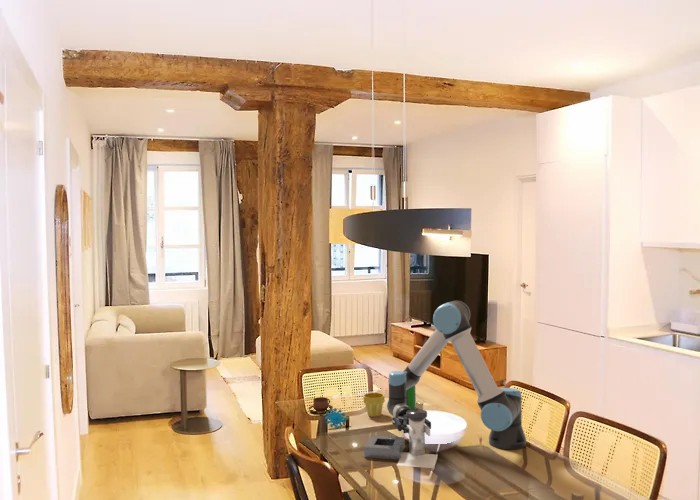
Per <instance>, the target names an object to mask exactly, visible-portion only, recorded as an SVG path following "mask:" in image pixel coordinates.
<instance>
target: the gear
mask: <svg viewBox="0 0 700 500" xmlns="http://www.w3.org/2000/svg"><path fill="white" fill-rule="evenodd" d="M337 410H338V411H337ZM325 415H326V416H325V418H324V419H325V420H326V424H328V425H329V424H330V425H329V427H330V428H333V426H334V425H335V426H334V429H338V428H343V425H345V424H346V422H347V420H349V416H348V415H347V416H346V413H345V412H342V409H337V408H336V407H333V409H330V410H329V412H326V413H325Z"/></svg>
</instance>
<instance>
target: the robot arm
mask: <svg viewBox="0 0 700 500" xmlns="http://www.w3.org/2000/svg"><path fill="white" fill-rule="evenodd" d="M470 320H471V310H470V308H469V306H468V305H467V304H466V303H465V302H463V301H462V300H452V301H449V302H445V303H443V304H441V305H439V306H438V307H437V308H436V309H435V310H434V313H433V317H432V323H433V325H434V328H435V329H434V331H433V332H432V334H431V335H429V338H428V339H427V340H426V341H425V343H424V344H423V345H422V347H421V348H420V349H419V351H418V352H417V353H416V354H415V355H414V357H413V358H412V360H411V361H410V362H409V364H408V365H407V366H406V367H405V368H404V370H403V371H401V370H393V371H391V372H389V374H388V400H387V402H386V409H387V410H388V413H389V414H390V415H391V416H392V423H391V424H392V425H393V426H395V428H396V429H397V431H398V432H403V434H408V436H409V435H410V436H411V437H413V429H412V428H411V427H410V426H409V418H408V417H407V416H406V411H408V410H411V409H410V408H409V407H408V406H407V405H406V390H408V389H409V388H411V387H412V386H415V387H416V385H417V384H418V383H419V381H420V380H421V377H422V376H423V375H424V374H425V372H426V370H428V368H429V367H430V366H431V364H432V363H433V362H434V361H435V360H436V358H437V357H438V355H440V353H441V352H442V350H443V349H444V348H445V347H446V346H447V345H448V343H449V342H450V343H451V345H452V346H453V348H454V351H455V352H456V353H455V354H456V355H457V357H458V359H459V361H460V362H461V365H462V367H463V368H464V372H465V373H466V375H467V376H468V378H469V381H470V382H471V384H472V386H473V389H474V390H475V393H476V395H477V401H476V403H477V405H478V407H479V408H480V418H481V421H482V424H483V425H484V426H485V427H486V428H487V429H489V430H490V433H489V435H488V436H489V437H488V443H489V445H490V446H492V447H495V448H498V449H503V450H521V449H524V448H525V447H526V446H527V438H526V435H525V431H524V429H523V425H522V422H523V421H522V418H523V417H522V414H523V413H522V399H523V397H522V392H521V390H519V389H516V388H511V387H498V385H497V383H496V381H495V380H494V377H493V375H492V373H491V371H490V370H489V367H488V365H487V363H486V361H485V359H484V358H483V356H482V354H481V352H480V350H479V348H478V345H477V344H476V342H475V340H474V337H473V336H472V334H471V330H472V326H471V324H470V322H469V321H470ZM431 429H432V422H431V421H430V420H429V419H427V417H426V418H425V435H426V436H428V437H430V436H431Z"/></svg>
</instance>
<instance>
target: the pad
mask: <svg viewBox="0 0 700 500" xmlns="http://www.w3.org/2000/svg"><path fill="white" fill-rule="evenodd" d="M438 456H439V455H438V454H432V453H430V454H429V453H425V454H424V455H421V456H414V455H411V454H410V453H409V452H404V451H403V453H402V455H401V457H400V459H399V460H398V462H397V463H396V466H399V467H412V468H413V467H414V468H422V469H423V468H425V469H430V471H433V472H434V471H435V468H436V464H437V460H438Z"/></svg>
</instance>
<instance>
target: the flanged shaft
mask: <svg viewBox="0 0 700 500" xmlns="http://www.w3.org/2000/svg"><path fill="white" fill-rule="evenodd" d="M406 416H407V417H408V418H409V426H410V427H411V428H412V429H413V437H411V436H410V435H409V434H408V437H409V438H408V446H409V447H408V449H409V451H408V453H410V454H411V455H414V456H421V455H424V454H426V446H425V445H426V443H425V442H426V439H425V437H426V436H425V435H426V433H425V418H426V419H427V418H428V411H427V410H425V409H420V408H416V409H411V410H408V411H406Z"/></svg>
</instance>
